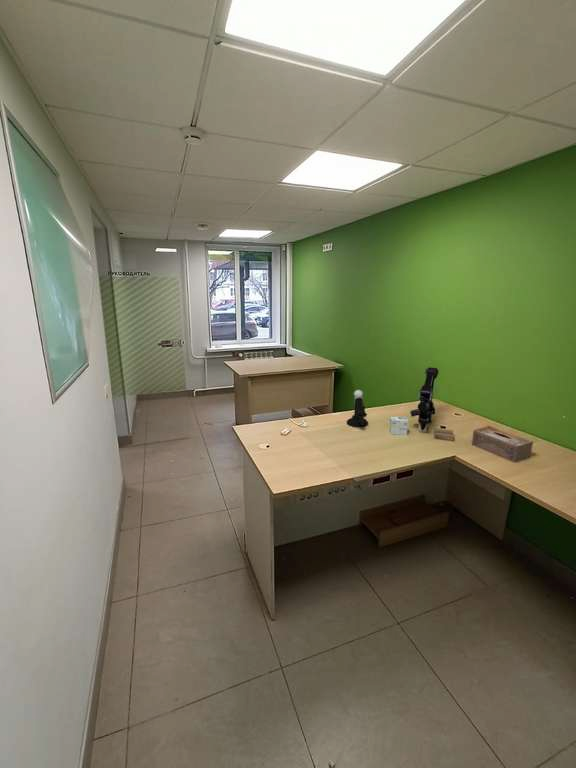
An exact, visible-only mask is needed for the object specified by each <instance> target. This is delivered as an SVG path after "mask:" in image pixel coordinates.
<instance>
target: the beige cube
mask: <svg viewBox="0 0 576 768" xmlns="http://www.w3.org/2000/svg"><path fill="white" fill-rule="evenodd" d="M427 427H428V424H427V425H426V426H425V428H424V430H421V423H418V429H417V432H420V433H427V429H428V428H427Z"/></svg>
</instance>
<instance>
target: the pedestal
mask: <svg viewBox="0 0 576 768" xmlns="http://www.w3.org/2000/svg"><path fill="white" fill-rule="evenodd" d="M433 429H434V431H433V436H434V437H433V438H434V439H433V440H441V441H447V442H454V439H455V436H454V430H453V429H452V430H451V429H445V428H433Z"/></svg>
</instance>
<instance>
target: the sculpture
mask: <svg viewBox="0 0 576 768" xmlns="http://www.w3.org/2000/svg"><path fill="white" fill-rule="evenodd" d="M353 395H354V399H353V402H354V404H353V405H354V411H353V415H352V416H351V417H350V418H348V419H347V420H346V425H348V426H349V427H351V426H352V427H353V428H366V427H367V426H368V425H369V421H368V420H367V419H366V418H365V417H367V416H368V414H367V412H366V410H365V409H366V406H365V405H364V402H363V399H364V398H363V396H364V392H363V391H362V390H360V389H357V390H355V391H354V392H353Z"/></svg>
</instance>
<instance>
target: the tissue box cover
mask: <svg viewBox="0 0 576 768" xmlns="http://www.w3.org/2000/svg"><path fill="white" fill-rule="evenodd" d="M533 444H534V441H533V440H530V439H528V438H524V437H521V436H519V435H516V434H514V433H511V432H508V431H505V430H503V429H499V428H497V427H494V426H491V425H486V426H483V427H480V428H476V429H473V433H472V440H471V445H472V446H474V447H476V448H478V449H481V450H484V451H486V452H488V453H491V454H492V455H496V456H498V457H499V458H503V459H505V460H507V461H509V462H511V463H519V462H521V461H523V460H526V459H529V458H531V454H532V451H533V449H532V448H533Z"/></svg>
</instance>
